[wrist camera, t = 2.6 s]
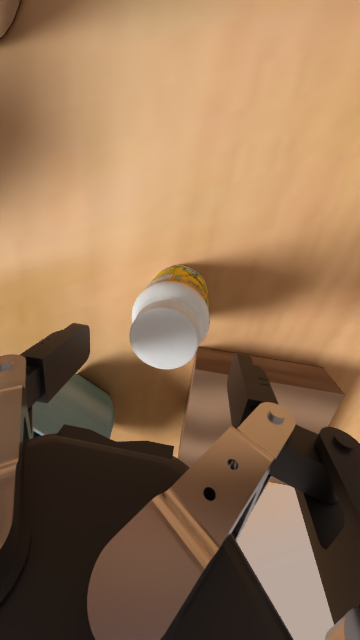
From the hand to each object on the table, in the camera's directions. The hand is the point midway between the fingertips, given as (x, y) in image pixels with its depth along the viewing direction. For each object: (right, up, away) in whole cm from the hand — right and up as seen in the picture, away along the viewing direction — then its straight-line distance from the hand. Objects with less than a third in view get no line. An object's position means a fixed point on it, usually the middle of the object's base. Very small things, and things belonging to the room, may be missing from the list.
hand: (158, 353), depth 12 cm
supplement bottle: (+1, +4, +9) cm, 10 cm away
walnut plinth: (+8, -8, +14) cm, 18 cm away
